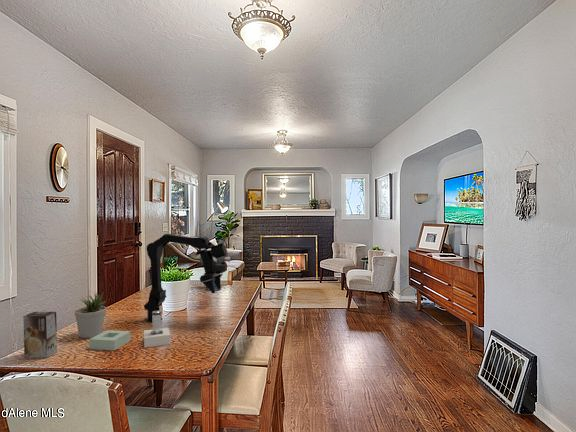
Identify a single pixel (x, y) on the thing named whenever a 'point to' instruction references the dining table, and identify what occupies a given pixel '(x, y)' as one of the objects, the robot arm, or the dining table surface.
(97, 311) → the potted plant
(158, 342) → the socket block
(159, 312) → the metal cylinder
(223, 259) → the impact wrench
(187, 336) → the dining table surface
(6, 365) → the dining table surface
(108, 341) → the block
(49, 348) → the coffee box
